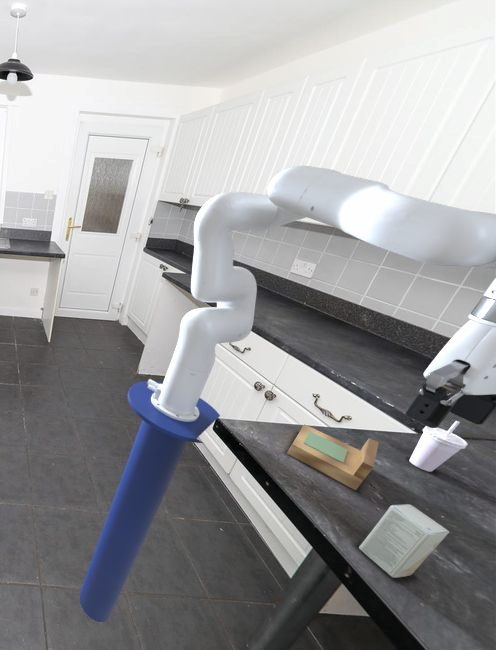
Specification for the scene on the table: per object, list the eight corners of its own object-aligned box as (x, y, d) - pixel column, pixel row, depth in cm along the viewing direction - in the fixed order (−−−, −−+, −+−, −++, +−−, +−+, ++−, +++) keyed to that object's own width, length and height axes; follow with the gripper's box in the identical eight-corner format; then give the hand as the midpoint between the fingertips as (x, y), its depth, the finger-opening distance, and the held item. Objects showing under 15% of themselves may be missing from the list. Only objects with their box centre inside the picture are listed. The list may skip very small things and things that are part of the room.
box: (411, 576, 56) (453, 533, 52) (391, 578, 55) (433, 536, 51) (374, 543, 61) (410, 502, 57) (355, 545, 60) (390, 504, 56)
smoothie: (399, 461, 82) (435, 416, 76) (402, 451, 85) (436, 408, 80) (440, 480, 77) (481, 434, 72) (441, 469, 81) (481, 424, 75)
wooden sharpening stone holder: (286, 453, 81) (300, 431, 78) (299, 432, 88) (311, 412, 85) (355, 490, 72) (373, 467, 69) (362, 464, 80) (378, 442, 77)
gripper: (517, 308, 49) (446, 401, 55) (435, 306, 46) (369, 406, 52) (613, 330, 42) (520, 434, 49) (526, 330, 39) (437, 442, 45)
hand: (442, 419), depth 50 cm, fingers open, 9 cm apart
